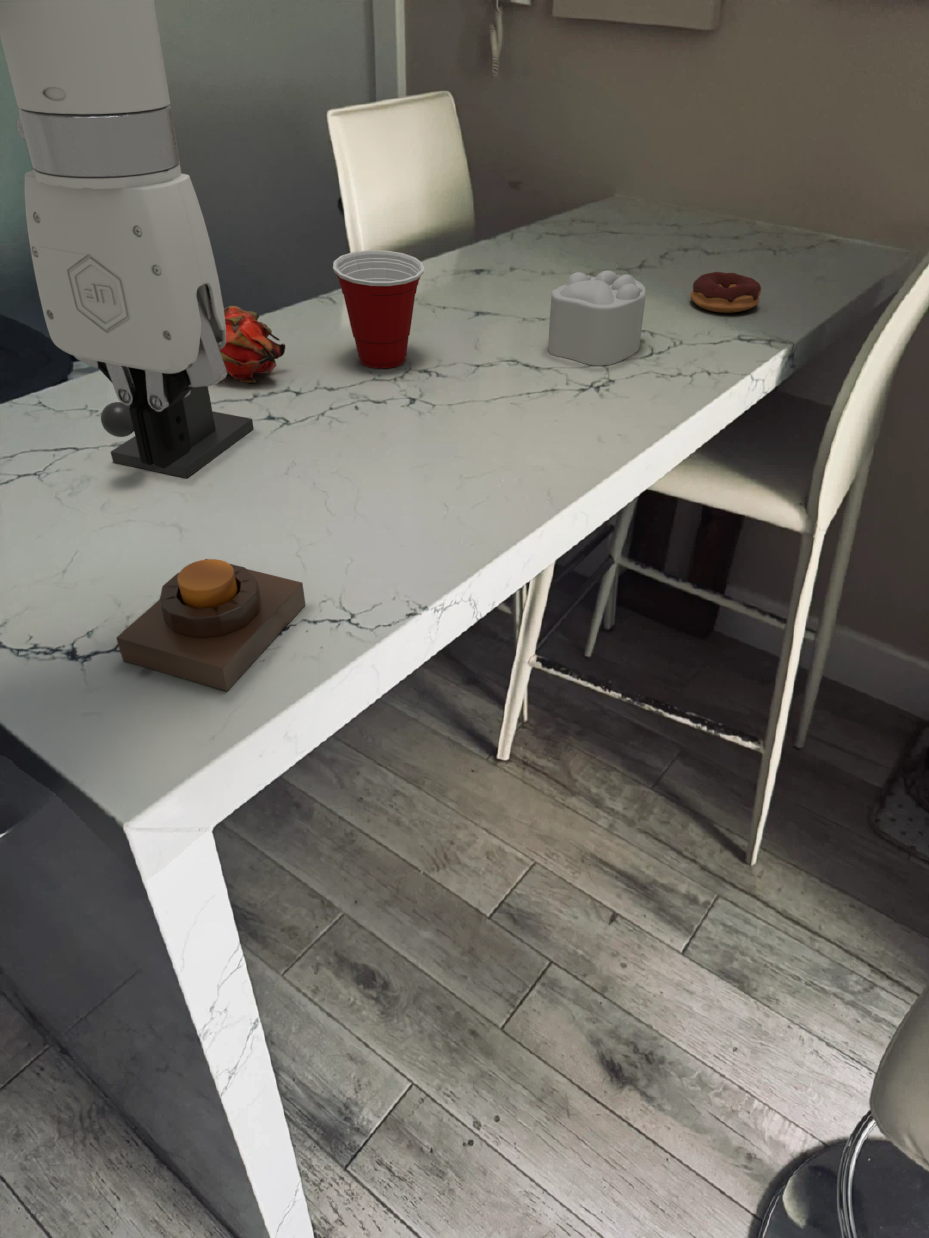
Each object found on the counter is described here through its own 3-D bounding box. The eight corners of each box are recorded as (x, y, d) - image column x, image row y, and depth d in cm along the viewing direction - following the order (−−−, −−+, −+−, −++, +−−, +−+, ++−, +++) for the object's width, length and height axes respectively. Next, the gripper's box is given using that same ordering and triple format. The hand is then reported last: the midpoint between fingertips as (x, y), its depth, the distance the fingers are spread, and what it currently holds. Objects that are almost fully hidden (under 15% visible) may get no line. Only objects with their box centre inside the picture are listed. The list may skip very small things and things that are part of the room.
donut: (696, 291, 133) (700, 264, 130) (762, 299, 130) (768, 271, 127) (682, 311, 125) (686, 283, 123) (752, 320, 122) (757, 291, 120)
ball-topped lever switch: (132, 446, 82) (116, 423, 79) (105, 441, 83) (87, 417, 80) (193, 356, 87) (179, 331, 84) (166, 352, 88) (152, 327, 85)
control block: (227, 691, 61) (217, 647, 59) (122, 660, 64) (109, 617, 61) (305, 604, 69) (300, 563, 67) (210, 580, 72) (201, 539, 70)
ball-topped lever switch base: (187, 478, 86) (162, 362, 79) (112, 462, 88) (82, 348, 81) (253, 428, 95) (236, 320, 87) (184, 415, 97) (162, 308, 90)
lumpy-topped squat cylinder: (537, 350, 113) (540, 281, 108) (591, 324, 121) (596, 258, 116) (606, 369, 108) (613, 298, 103) (657, 340, 116) (666, 273, 111)
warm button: (217, 614, 62) (212, 595, 61) (170, 602, 64) (165, 582, 62) (247, 584, 65) (244, 565, 64) (202, 573, 66) (198, 554, 65)
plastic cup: (372, 385, 104) (365, 282, 97) (324, 358, 111) (314, 260, 103) (444, 363, 109) (443, 264, 102) (394, 339, 116) (389, 244, 109)
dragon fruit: (223, 369, 112) (279, 410, 106) (169, 346, 104) (227, 389, 99) (253, 309, 110) (311, 347, 104) (201, 281, 103) (261, 321, 97)
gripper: (-60, 144, 46) (36, 460, 57) (177, 171, 42) (231, 506, 53) (44, 125, 52) (113, 416, 63) (262, 147, 47) (295, 455, 58)
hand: (167, 457), depth 58 cm, fingers closed
